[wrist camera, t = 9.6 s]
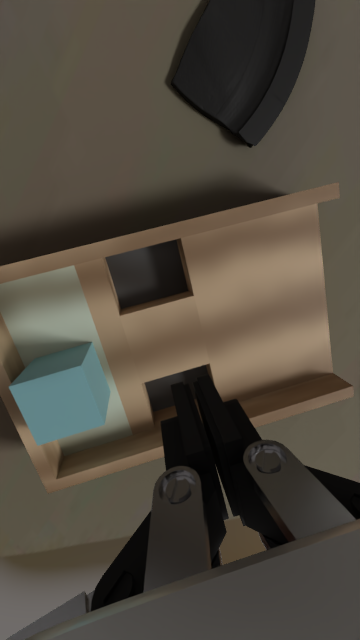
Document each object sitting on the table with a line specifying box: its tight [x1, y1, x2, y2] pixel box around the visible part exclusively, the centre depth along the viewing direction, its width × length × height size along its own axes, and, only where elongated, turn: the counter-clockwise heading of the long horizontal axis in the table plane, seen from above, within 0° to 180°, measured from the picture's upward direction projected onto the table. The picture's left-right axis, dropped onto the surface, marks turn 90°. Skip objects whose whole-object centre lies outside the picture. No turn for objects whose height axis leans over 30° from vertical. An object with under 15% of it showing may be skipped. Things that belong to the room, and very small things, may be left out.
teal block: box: [9, 342, 111, 446], centre depth 20 cm, size 4×4×4 cm
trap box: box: [0, 182, 354, 493], centre depth 23 cm, size 17×26×6 cm, turn 104°
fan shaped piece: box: [171, 0, 315, 148], centre depth 20 cm, size 8×14×2 cm, turn 148°
